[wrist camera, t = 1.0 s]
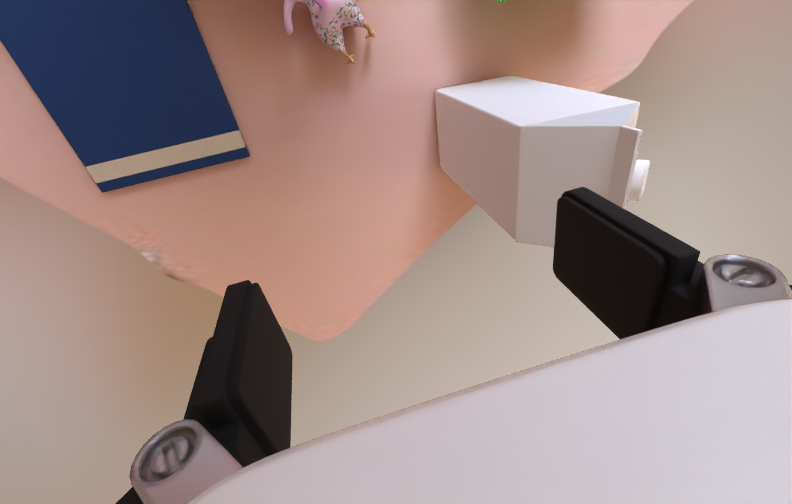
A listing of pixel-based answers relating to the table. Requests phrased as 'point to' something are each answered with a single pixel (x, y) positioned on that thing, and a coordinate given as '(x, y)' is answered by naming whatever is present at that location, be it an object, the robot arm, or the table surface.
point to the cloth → (124, 85)
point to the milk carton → (537, 149)
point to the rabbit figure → (330, 21)
